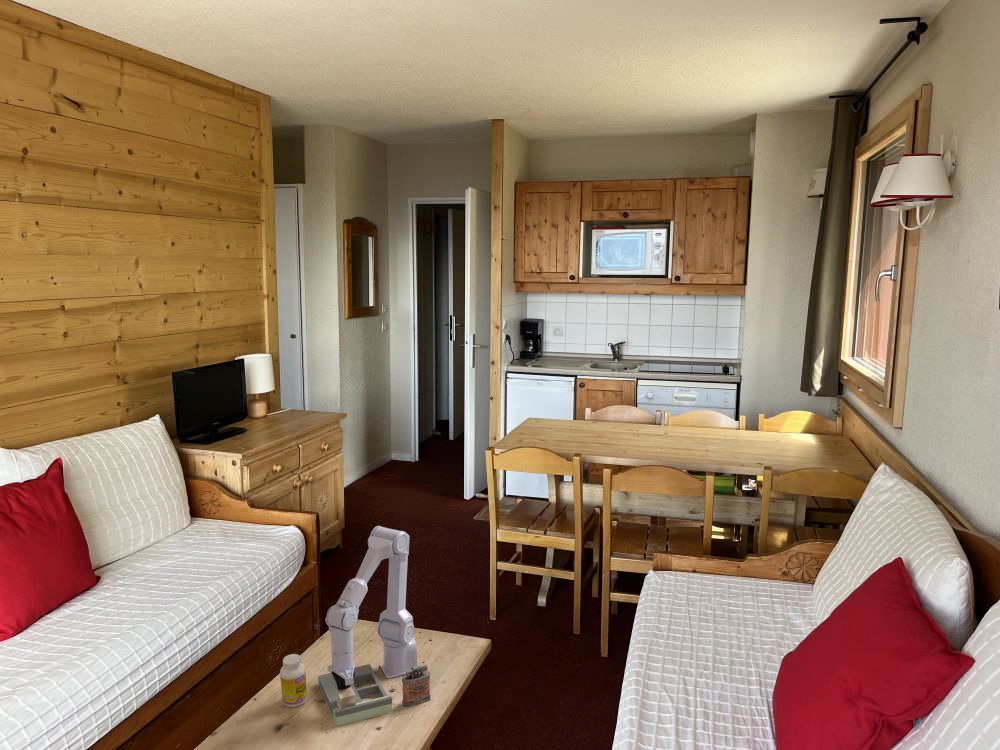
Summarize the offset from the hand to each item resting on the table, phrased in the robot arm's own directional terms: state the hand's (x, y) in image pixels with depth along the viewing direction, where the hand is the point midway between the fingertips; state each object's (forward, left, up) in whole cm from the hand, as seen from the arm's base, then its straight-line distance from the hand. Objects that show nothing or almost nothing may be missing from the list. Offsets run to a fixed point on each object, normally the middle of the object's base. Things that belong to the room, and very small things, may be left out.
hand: (343, 696), depth 203 cm
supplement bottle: (+11, -9, -3) cm, 15 cm away
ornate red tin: (-19, +5, -4) cm, 20 cm away
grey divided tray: (-4, -4, -3) cm, 7 cm away
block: (0, +3, -1) cm, 4 cm away
